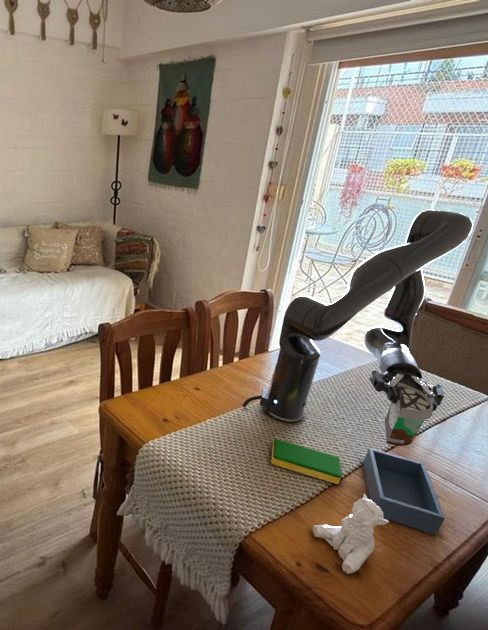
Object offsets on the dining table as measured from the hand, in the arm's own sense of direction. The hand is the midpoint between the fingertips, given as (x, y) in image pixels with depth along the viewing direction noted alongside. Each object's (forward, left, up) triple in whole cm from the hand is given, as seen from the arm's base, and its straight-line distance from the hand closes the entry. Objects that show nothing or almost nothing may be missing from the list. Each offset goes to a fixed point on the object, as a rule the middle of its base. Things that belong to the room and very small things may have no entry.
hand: (413, 404), depth 95 cm
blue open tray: (0, -9, -18) cm, 20 cm away
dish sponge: (-18, -8, -18) cm, 26 cm away
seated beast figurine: (-11, -29, -18) cm, 36 cm away
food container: (0, -1, -8) cm, 8 cm away
